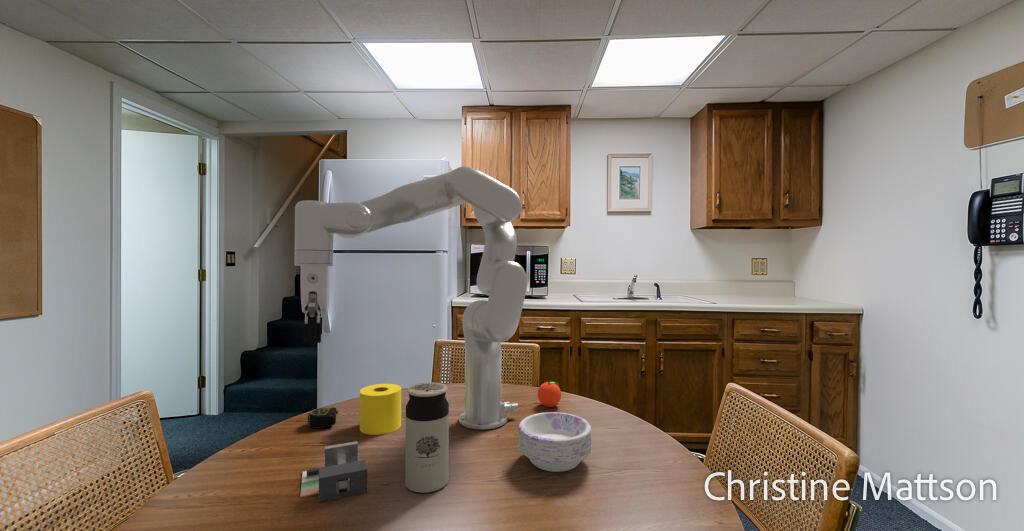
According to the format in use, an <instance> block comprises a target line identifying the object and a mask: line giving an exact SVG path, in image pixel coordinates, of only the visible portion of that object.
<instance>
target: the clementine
mask: <svg viewBox="0 0 1024 531" xmlns="http://www.w3.org/2000/svg"><path fill="white" fill-rule="evenodd" d="M560 388H561V387H560V385H559V383H558V382H555V381H546V382H544V383H542V384H541V385H540V386H539V387H538V389H537V393H536V394H537V398H538V401H539V403H540V404H541V405H542V406H544V407H548V408H551V407H555V406H557V405H558V404H559V402H560V401H561V398H562V391H561V389H560Z"/></svg>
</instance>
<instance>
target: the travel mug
mask: <svg viewBox="0 0 1024 531" xmlns="http://www.w3.org/2000/svg"><path fill="white" fill-rule="evenodd" d="M447 391H448V386H447V385H446V384H444V383H441V382H420V383H416V384H415V383H414V384H413V385H410V386H409V387H408V388H407V390H406V392H407V394H408V397H409V399H408V401H407V402H406V405H405V482H404V483H405V487H406V488H407V489H408V490H410V491H412V492H415V493H427V494H428V493H432V492H436V491H438V490H441V489H442V488H444V487H445V486H446V485H447V484H448V483H449V474H450V473H449V460H450V459H449V450H450V449H449V445H450V444H449V439H450V438H449V435H450V434H449V432H450V430H449V428H450V427H449V425H450V424H449V423H450V422H449V421H450V417H449V416H450V412H449V411H450V404H449V401H448V400H447V398H446V395H447V394H446V393H447Z"/></svg>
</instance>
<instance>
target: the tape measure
mask: <svg viewBox="0 0 1024 531" xmlns="http://www.w3.org/2000/svg"><path fill="white" fill-rule="evenodd" d="M338 414H339V410H337V408H336V407H319V408H315V409H313V410H311V411H310V412H309V413H308V415H307V424H308V426H309V427H310V428H314V429H323V428H328V427H332V426H335V424H336V422H337V421H336V420H337V415H338Z"/></svg>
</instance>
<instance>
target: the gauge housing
mask: <svg viewBox="0 0 1024 531" xmlns="http://www.w3.org/2000/svg"><path fill="white" fill-rule="evenodd" d="M318 468H319V494H318V503H323V502H329V501H332V500H337V499H342V498H348V497H353V496H356V495H361V494H365V493H366V494H367V493H368V471H369V470H368V466H367V460H366V459H362V460H358V461H355V462H349V463H344V464H338V465H333V466H327V467H325V466H323V467H318ZM345 478H348V488H344V489H339V480H340V479H345ZM337 481H338V482H337Z"/></svg>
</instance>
